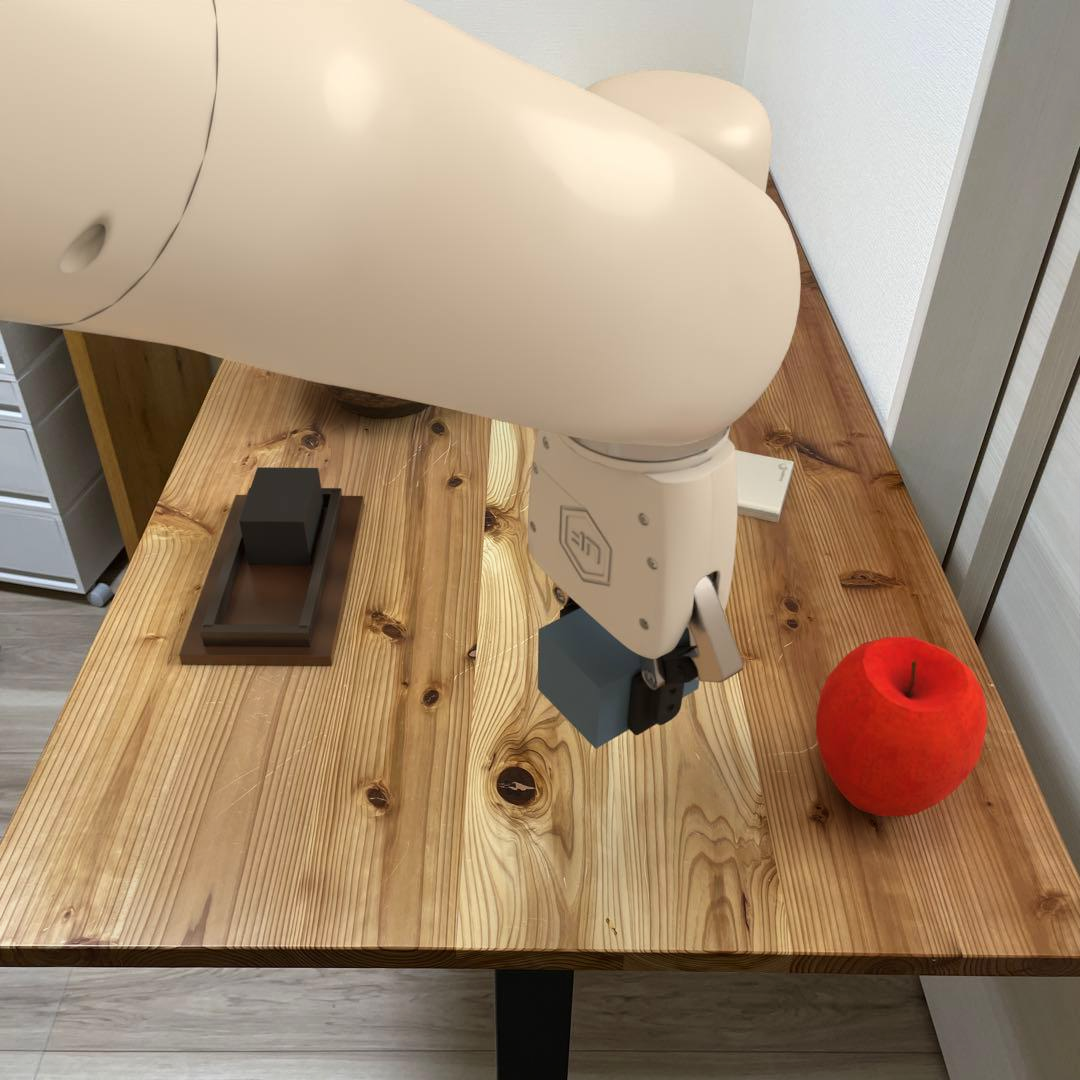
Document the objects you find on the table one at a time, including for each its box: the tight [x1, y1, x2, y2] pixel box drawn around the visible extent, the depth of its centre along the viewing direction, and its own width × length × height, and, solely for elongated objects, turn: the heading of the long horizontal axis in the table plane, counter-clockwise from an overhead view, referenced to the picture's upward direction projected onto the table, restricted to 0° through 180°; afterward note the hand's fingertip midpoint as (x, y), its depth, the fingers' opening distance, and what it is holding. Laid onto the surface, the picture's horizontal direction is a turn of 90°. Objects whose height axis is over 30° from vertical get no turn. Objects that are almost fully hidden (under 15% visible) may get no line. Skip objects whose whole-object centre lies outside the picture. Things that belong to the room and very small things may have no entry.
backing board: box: [178, 486, 366, 666], centre depth 84 cm, size 19×11×2 cm, turn 0°
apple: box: [815, 636, 989, 818], centre depth 66 cm, size 10×10×12 cm
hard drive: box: [735, 449, 795, 524], centre depth 96 cm, size 2×8×12 cm
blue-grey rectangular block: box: [537, 608, 701, 750], centre depth 55 cm, size 7×5×4 cm
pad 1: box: [239, 466, 325, 565], centre depth 86 cm, size 7×5×4 cm
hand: (618, 683), depth 56 cm, fingers closed on blue-grey rectangular block, 5 cm apart
